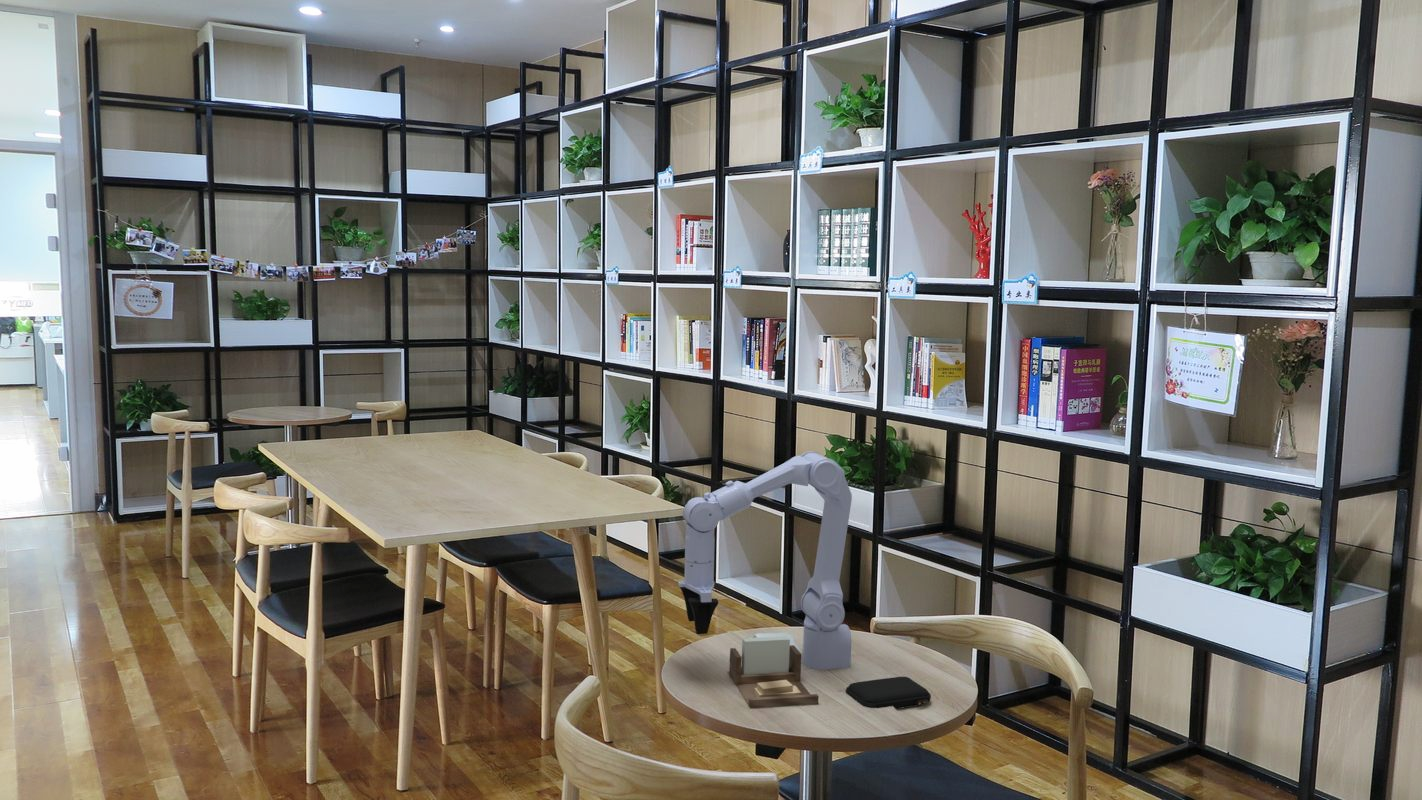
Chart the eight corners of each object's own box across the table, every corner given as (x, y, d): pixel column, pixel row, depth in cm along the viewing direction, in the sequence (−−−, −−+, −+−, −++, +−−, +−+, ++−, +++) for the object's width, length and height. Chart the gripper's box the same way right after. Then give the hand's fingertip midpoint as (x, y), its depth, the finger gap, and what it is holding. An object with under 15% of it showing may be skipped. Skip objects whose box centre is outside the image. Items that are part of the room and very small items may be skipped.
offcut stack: (795, 691, 203) (795, 679, 202) (801, 699, 199) (801, 686, 199) (754, 693, 201) (754, 681, 201) (759, 701, 197) (760, 689, 197)
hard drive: (804, 652, 224) (790, 631, 236) (766, 653, 223) (753, 632, 235) (804, 659, 224) (789, 639, 236) (765, 660, 223) (753, 639, 235)
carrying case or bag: (870, 718, 195) (938, 708, 200) (870, 702, 194) (939, 693, 200) (841, 696, 204) (907, 687, 210) (842, 681, 204) (908, 672, 210)
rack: (789, 673, 215) (791, 641, 214) (818, 709, 197) (819, 675, 196) (726, 676, 212) (727, 644, 211) (749, 713, 194) (751, 679, 194)
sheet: (785, 675, 211) (786, 636, 210) (788, 679, 209) (789, 639, 208) (741, 677, 209) (742, 638, 208) (743, 681, 207) (745, 641, 206)
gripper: (672, 550, 215) (671, 616, 216) (686, 570, 201) (684, 640, 202) (706, 549, 216) (705, 614, 218) (723, 569, 202) (721, 638, 204)
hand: (697, 627), depth 210 cm, fingers open, 7 cm apart
